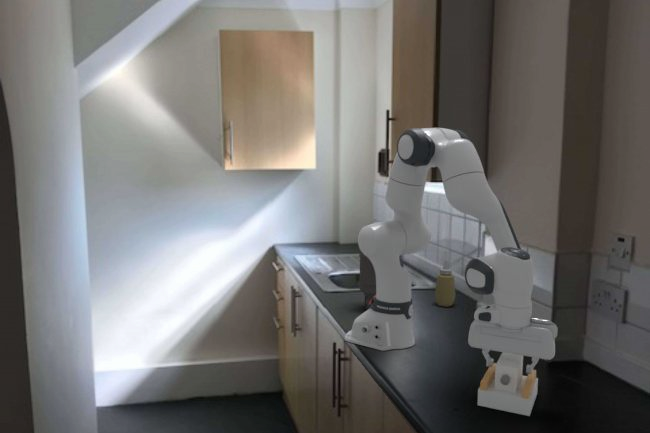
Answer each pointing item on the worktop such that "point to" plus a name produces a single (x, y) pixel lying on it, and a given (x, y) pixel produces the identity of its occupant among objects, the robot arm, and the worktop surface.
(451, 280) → the squeeze bottle
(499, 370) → the white block with knob
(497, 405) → the white tray with rails
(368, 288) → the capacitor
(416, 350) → the worktop surface
